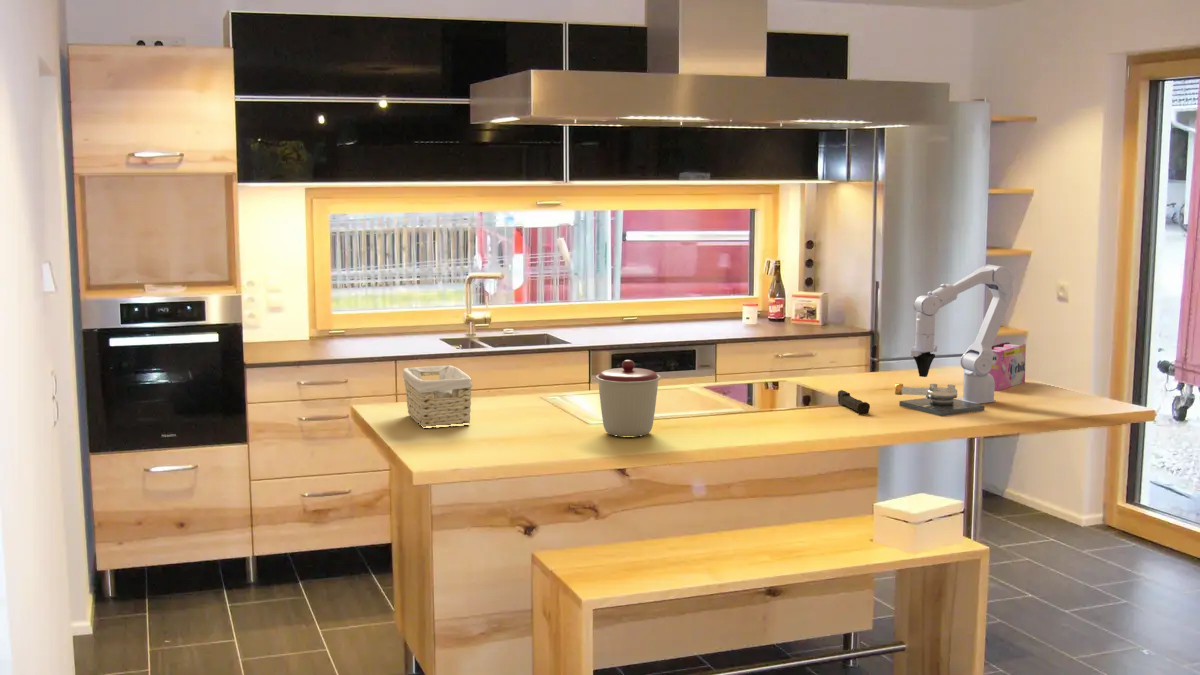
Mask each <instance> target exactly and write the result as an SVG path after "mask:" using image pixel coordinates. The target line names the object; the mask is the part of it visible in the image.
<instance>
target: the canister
mask: <svg viewBox="0 0 1200 675" xmlns="http://www.w3.org/2000/svg"><path fill="white" fill-rule="evenodd" d="M621 366H622V367H618V368H617V367H616V368H610V369H605V370H603V371H601V372H600V373H599V374H597V375H596V376H595V379H596V380H597V381H598V391H599V400H600V402H599V403H600V410H601V411H600V412H601V416H602V424H603V427H604V430H605V432H606V433H607V434H608V433H609V434H608V435H610V434H612V435H617V436H640V435H644V436H646V435H645V434H647V435H649V434H650V432H651V431H652V429H653V424H654V421H655V420H654V419H655V412H656V404H657V394H658V388H659V381H660V380H661V378H662V377H661V375H660V374H658V373H656V371H654V370H651V369H646V368H640V367H635V362H634V361H633V360H631V359H625V360H624V361H622V363H621ZM612 435H611V436H612ZM640 437H641V436H640Z"/></svg>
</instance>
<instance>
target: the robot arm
mask: <svg viewBox="0 0 1200 675" xmlns="http://www.w3.org/2000/svg"><path fill="white" fill-rule="evenodd" d="M1014 280H1015V276H1014V274H1013V272H1012V270H1011V269H1010V268H1009V267H1008V266H1005V265H994V264H992V263H991V264H990V263H989V264H985V265H983V266H981V267H978V268H977V269H975V271H972V272H971V273H970V274H968V275H967V276H965V277H963V278H961V279H959V281H957V282H955V283H951V284H950V283H942V284H940V285H939V287H938V288H936V289H934V290H932V291H928V292H927V293H926V295H920V296H917V297H916V300H915V301H914V303H913V304H912V307H913V310H914V311H915V315H916V316H915V338H914V339H915V340H914V342H915V345H914V346H911V350H910V357H913V359H914V361H915V365H916V366H917V370H918V371H917V372H918V376H919V377H921V378H922V377H923V378H926V377H928V374H929V372H930V368H931V365H932V363H933V361H934V359H935V357H936V354H935V352H938V345H937V344H935V326H936V314H938V312H939V310H940V309H942V308H943V307H945V306H947V305H948V304H950V303H952V302H954V301H956V300H957V298H958V295H960V294H961V293H964V292H965V291H967V290H969V289H971V288H974V287H975V286H977V285H980V284H982V285H985V286H986V287H987V288H988V289H989V291H990V293H991V295H992V299H991V301H990V303H989V306H988V308H987V311H986V313H985V315H984V318H983V320H982V322H981V323H982V324H981V325H980V328H979V330H978V333H977V335H976V338H975V340H974V342H973V343H972V344H970V345H968V347H967V349H966V351H965V352H964V353H963V354H962V355H961V357H960V365H961V368H962V369H963V387H962V397H960V398H959V397H957V398H956V399H957V400H962V401H966V402H970V403H975V404H979V405H981V404H987V403H988V404H989V403H994V402H995V403H996V401H997V400H996V399H995V391H994V387H995V381H994V378H993V376H992V375H991V374H989V372H990V370H991V368H992V359H993V356H994V354H993V351H992V346H994V343H995V340H996V338H997V335H998V333H999V331H1000V327H1001V326H1002V324H1003V321H1004V319H1005V316H1006V313H1007V311H1008V308H1009V306H1010V305H1011V304H1010V303H1011V301H1012V300H1013V283H1014Z"/></svg>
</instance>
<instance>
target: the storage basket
mask: <svg viewBox="0 0 1200 675" xmlns="http://www.w3.org/2000/svg"><path fill="white" fill-rule="evenodd" d="M402 372H403V374H402V376H403V377H402V378H403V381H404V386H405V395H406V407H407V414H408V415H409V416H410V417H411V419H412V420H414V422H415V423H417V424H418V423H419V424H418V425H419V426H420V425H422V426H423V427H426V426H436V425H451V424H463V423H470V424H471V410H472V409H471V405H472V402H471V399H472V387H473V382H472V378H471V377H470V375H468V374H467V373H465V372H464V371H462V370H461V369H460V368H459V367H456V366H455V365H454V366H453V365H450V364H449V365H435V366H434V365H433V366H431V365H430V366H416V367H404V368H403V370H402ZM423 376H424V377H425V376H429V377H430V376H439V379H434V380H433V379H431V380H429V379H424V380H423V379H422V377H423Z"/></svg>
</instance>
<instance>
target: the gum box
mask: <svg viewBox="0 0 1200 675" xmlns="http://www.w3.org/2000/svg"><path fill="white" fill-rule="evenodd" d="M1026 347H1027V346H1026V344H1025V343H1023V344H1022V345H1019V344H1012V343H1010V342H1008V341H1007V342H1001V343H998V344H995V345H994V344H993V346H992V351H993V354H994V356H993V359H992V368H991V370H990V372H989V374H991V375H992V376H993V378H994V381H995V387H994V392H998V391H1001V390H1002V391H1003V390H1005V389H1009V388H1012V387H1015V386H1018V385H1020V384H1023V383H1026V355H1027V354H1026Z"/></svg>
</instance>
